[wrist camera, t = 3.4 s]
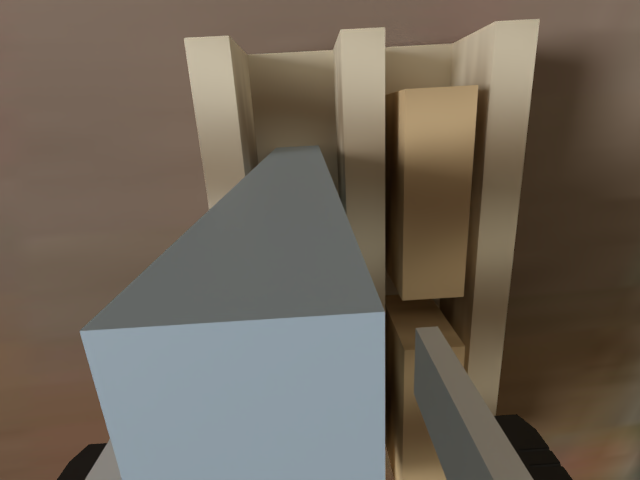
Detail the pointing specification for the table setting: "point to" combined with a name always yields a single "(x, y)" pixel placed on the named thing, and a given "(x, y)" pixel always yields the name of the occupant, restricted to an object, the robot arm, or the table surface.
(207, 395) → the pale blue panel
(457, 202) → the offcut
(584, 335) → the table surface
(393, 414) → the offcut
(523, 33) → the rack
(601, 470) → the table surface
